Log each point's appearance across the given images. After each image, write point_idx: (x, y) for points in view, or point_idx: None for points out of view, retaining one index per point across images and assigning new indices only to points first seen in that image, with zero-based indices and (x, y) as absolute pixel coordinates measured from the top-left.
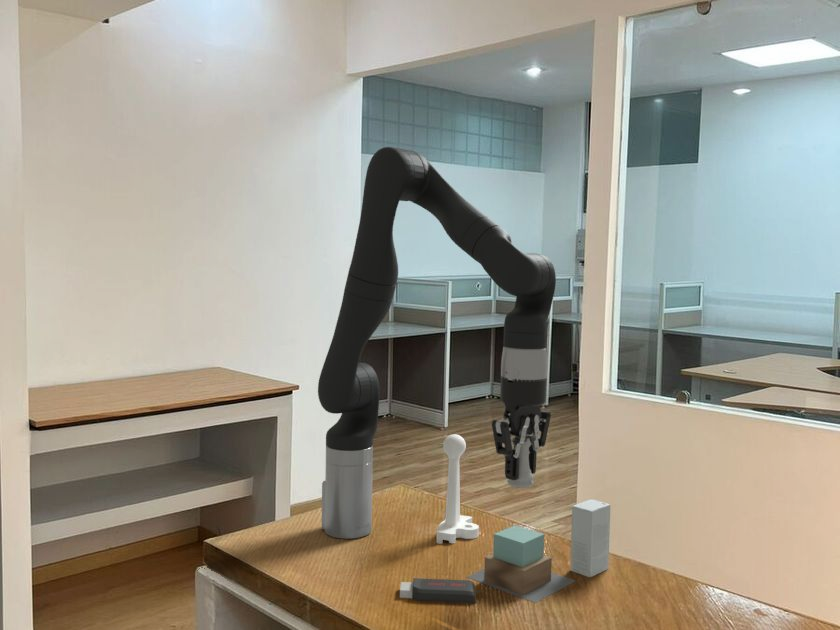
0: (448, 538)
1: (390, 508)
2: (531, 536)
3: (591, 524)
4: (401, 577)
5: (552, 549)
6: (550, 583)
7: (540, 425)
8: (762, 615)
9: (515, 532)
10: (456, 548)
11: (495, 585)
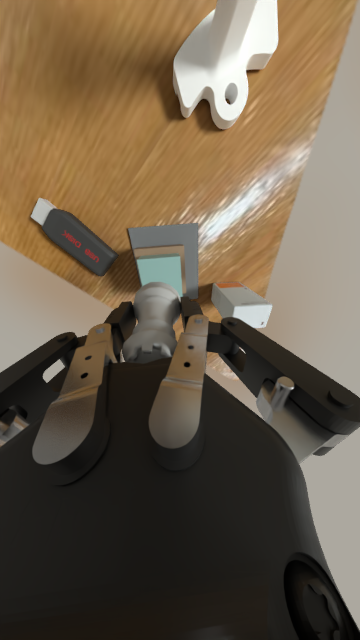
0: (180, 101)
1: None
2: None
3: None
4: (61, 163)
5: (251, 236)
6: None
7: (259, 383)
8: (229, 371)
9: (161, 273)
10: (179, 134)
11: None
